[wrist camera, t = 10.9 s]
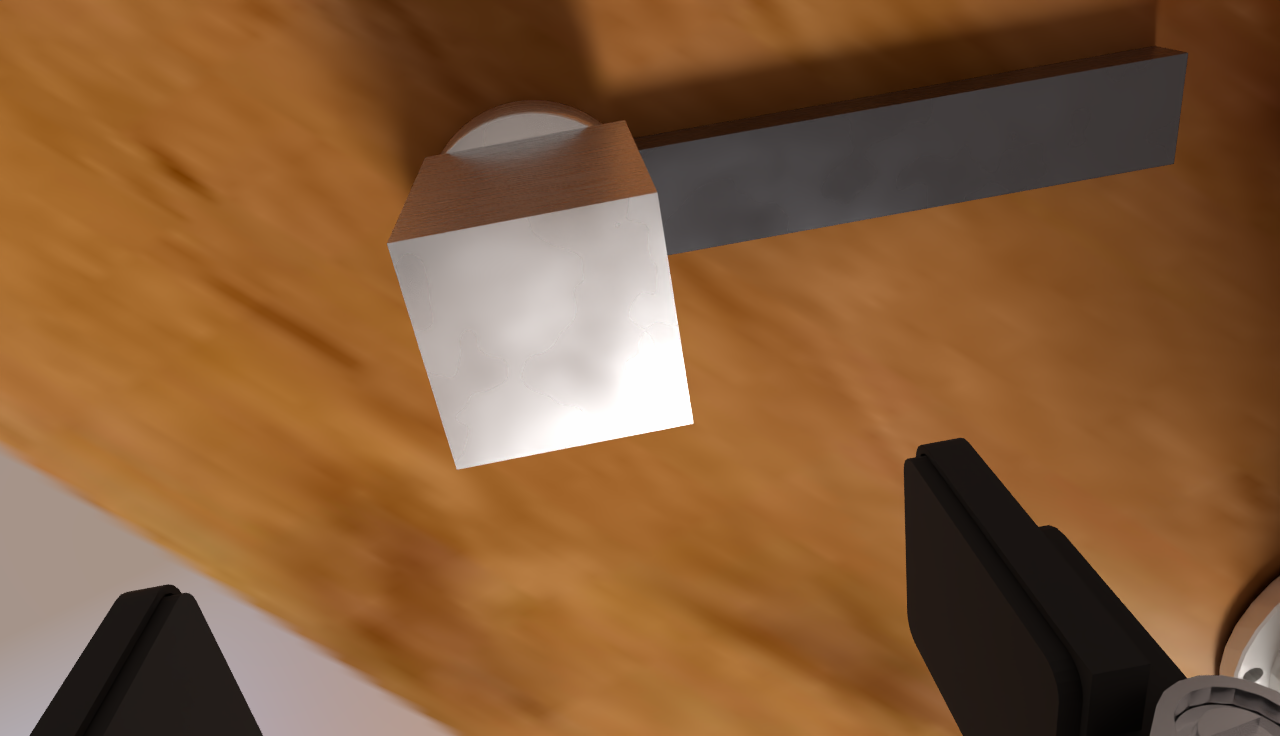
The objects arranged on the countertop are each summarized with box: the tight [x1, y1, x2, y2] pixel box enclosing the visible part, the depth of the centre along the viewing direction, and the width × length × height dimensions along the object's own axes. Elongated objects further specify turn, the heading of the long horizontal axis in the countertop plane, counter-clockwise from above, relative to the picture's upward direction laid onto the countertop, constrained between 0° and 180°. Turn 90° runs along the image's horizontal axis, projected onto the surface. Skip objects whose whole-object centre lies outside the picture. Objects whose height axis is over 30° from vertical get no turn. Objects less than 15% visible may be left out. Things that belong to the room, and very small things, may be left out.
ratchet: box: [441, 46, 1188, 255], centre depth 25 cm, size 22×6×5 cm, turn 99°
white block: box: [387, 120, 693, 469], centre depth 22 cm, size 5×5×7 cm
